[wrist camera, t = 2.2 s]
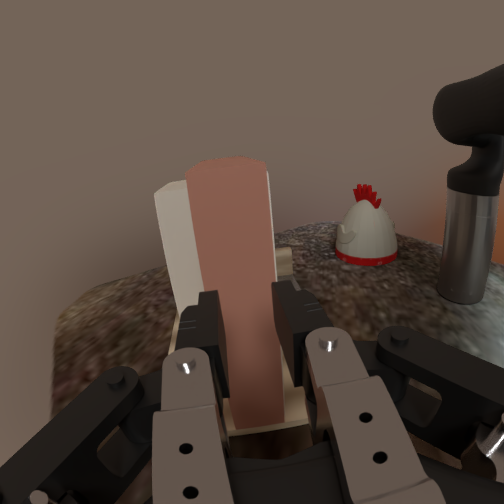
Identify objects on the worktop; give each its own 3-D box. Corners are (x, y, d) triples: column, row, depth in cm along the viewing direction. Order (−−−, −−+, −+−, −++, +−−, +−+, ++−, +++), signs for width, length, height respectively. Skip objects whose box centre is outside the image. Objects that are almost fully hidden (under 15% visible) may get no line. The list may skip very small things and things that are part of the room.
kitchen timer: (370, 239, 70) (370, 178, 64) (409, 256, 57) (412, 186, 52) (323, 250, 66) (321, 184, 61) (361, 271, 54) (362, 192, 48)
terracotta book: (286, 422, 24) (268, 162, 16) (235, 429, 23) (185, 172, 16) (260, 320, 40) (242, 155, 33) (226, 325, 40) (202, 160, 33)
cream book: (217, 324, 41) (195, 187, 34) (182, 328, 40) (153, 193, 34) (217, 286, 52) (200, 177, 45) (188, 290, 51) (169, 182, 45)
